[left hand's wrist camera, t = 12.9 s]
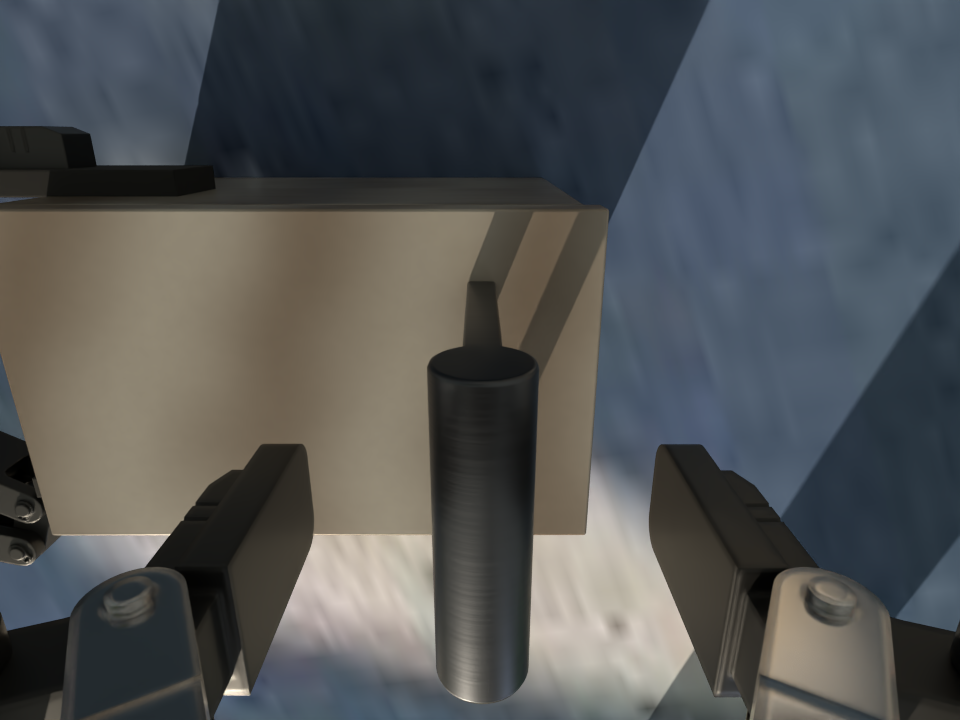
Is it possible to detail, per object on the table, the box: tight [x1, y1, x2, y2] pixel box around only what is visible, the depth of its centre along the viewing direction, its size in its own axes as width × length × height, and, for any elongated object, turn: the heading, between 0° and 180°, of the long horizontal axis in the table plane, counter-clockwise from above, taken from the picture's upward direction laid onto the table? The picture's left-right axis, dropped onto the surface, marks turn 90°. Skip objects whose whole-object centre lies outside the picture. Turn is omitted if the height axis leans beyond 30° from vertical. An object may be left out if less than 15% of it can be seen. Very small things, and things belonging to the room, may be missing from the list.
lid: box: [0, 205, 609, 704], centre depth 13 cm, size 16×9×8 cm, turn 90°
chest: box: [0, 178, 583, 205], centre depth 22 cm, size 15×9×10 cm, turn 90°
